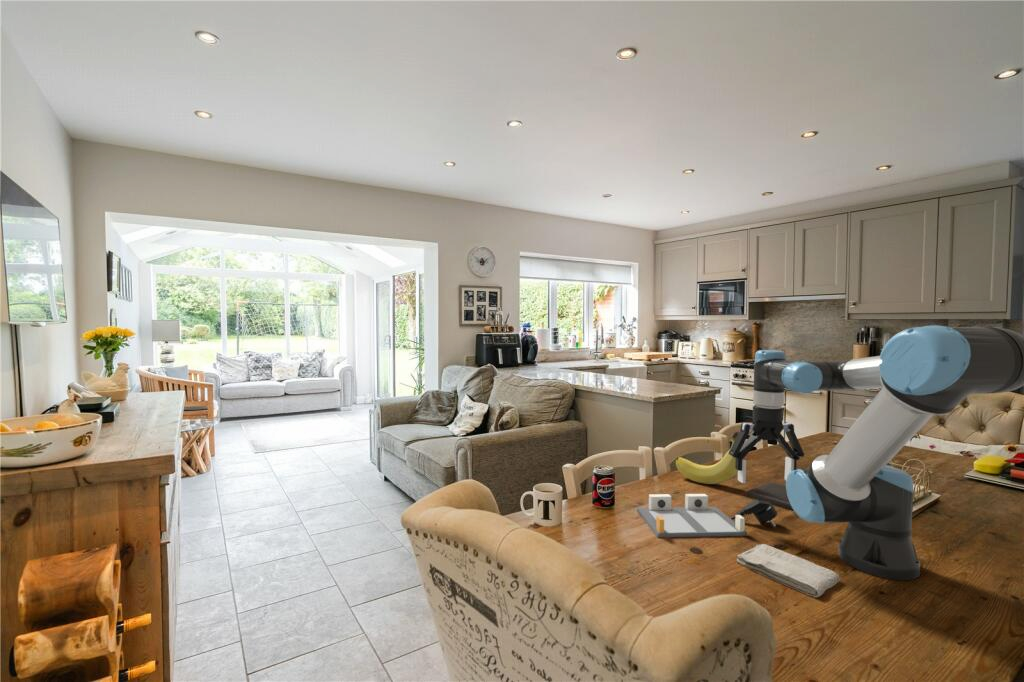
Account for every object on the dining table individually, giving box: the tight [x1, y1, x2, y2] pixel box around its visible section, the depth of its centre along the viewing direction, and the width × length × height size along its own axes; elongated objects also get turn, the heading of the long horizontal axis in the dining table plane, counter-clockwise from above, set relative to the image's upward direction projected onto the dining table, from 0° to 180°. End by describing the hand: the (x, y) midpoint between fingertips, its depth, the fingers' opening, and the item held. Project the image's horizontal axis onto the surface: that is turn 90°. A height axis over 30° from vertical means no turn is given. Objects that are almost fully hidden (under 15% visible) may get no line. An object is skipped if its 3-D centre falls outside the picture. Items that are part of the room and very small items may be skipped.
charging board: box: [636, 493, 748, 538], centre depth 133 cm, size 17×24×5 cm
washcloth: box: [736, 543, 841, 598], centre depth 107 cm, size 12×18×3 cm, turn 36°
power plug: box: [729, 499, 778, 528], centre depth 133 cm, size 6×8×12 cm
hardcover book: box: [745, 481, 794, 512], centre depth 148 cm, size 16×23×2 cm
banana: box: [674, 430, 740, 485], centre depth 165 cm, size 23×6×20 cm, turn 47°
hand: (765, 481), depth 132 cm, fingers open, 13 cm apart
